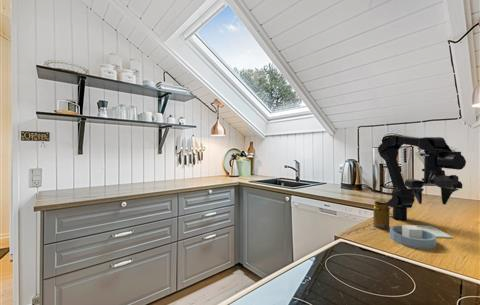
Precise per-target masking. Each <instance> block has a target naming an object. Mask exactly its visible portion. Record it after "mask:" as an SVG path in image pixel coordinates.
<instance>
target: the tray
mask: <svg viewBox="0 0 480 305" xmlns="http://www.w3.org/2000/svg"><path fill="white" fill-rule="evenodd" d="M411 225H412V226H416V227H418V228H420V229H422V230H425V231H428V232H430V233H432V234H434V235H435V236H436V238H438V239H439V238H441V239H453V236H451V235H449V234H448V233H446V232H444V231H442V230H440V229H438V228H436V227H434V226H433V225H420V224H419V225H413V224H411Z"/></svg>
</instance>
